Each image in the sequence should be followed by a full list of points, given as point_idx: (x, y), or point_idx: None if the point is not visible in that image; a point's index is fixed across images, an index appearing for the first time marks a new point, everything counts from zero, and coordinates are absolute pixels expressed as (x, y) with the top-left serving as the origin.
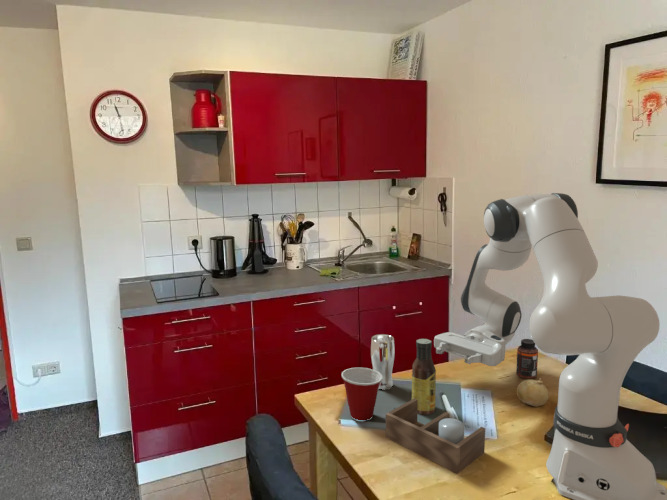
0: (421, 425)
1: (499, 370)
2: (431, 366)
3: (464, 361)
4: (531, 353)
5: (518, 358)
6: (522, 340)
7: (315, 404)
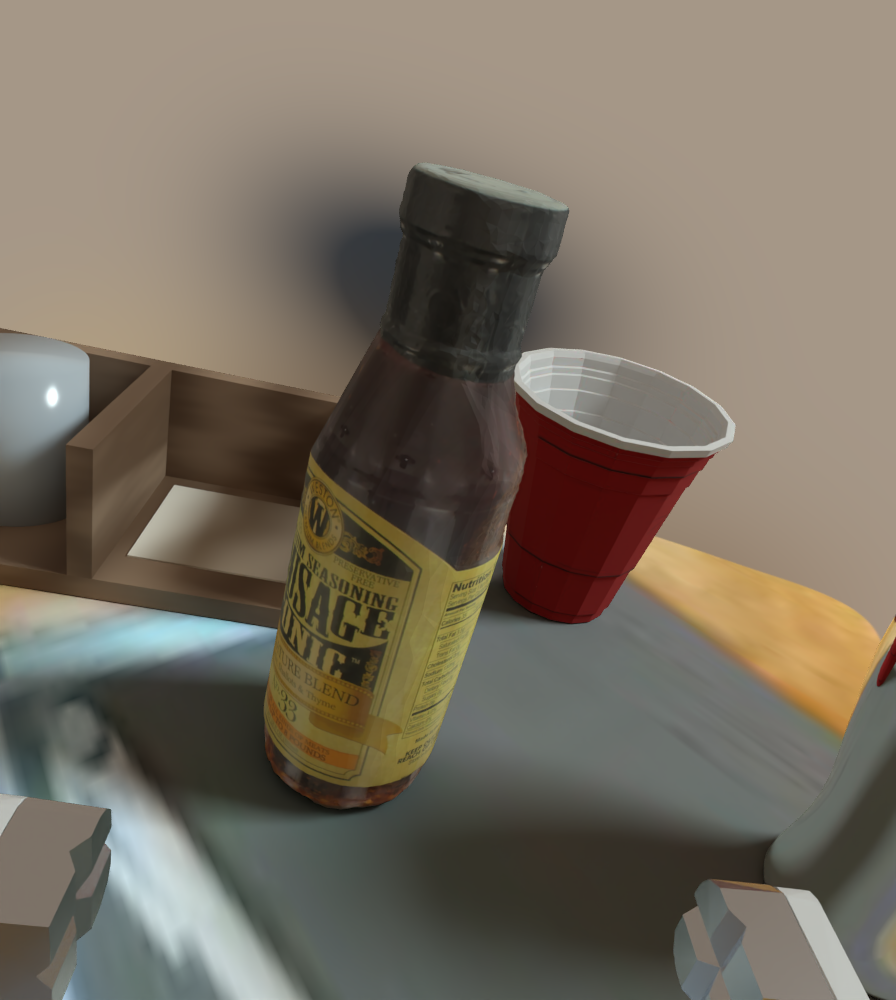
0: (254, 593)
1: None
2: (343, 394)
3: (107, 857)
4: None
5: None
6: None
7: (752, 588)
